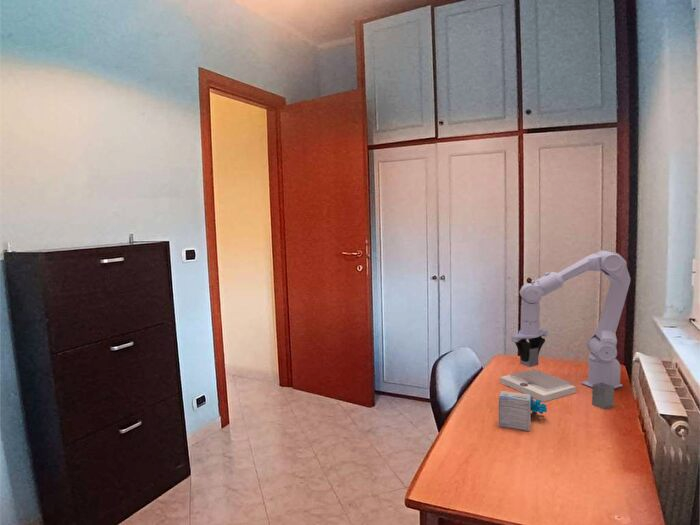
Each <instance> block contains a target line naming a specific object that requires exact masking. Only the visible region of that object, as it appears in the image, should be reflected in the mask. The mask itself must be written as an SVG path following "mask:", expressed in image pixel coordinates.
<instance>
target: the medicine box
mask: <svg viewBox="0 0 700 525" xmlns="http://www.w3.org/2000/svg"><path fill="white" fill-rule="evenodd" d="M531 412H532V411H531V395H529V394H524V393H522V392H513V391H505V390H500V391H499V395H498V427H502V428H508V429H513V430H519V431H526V432H530V429H531V414H532V413H531Z"/></svg>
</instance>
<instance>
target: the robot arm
mask: <svg viewBox="0 0 700 525" xmlns="http://www.w3.org/2000/svg"><path fill="white" fill-rule="evenodd" d="M588 271H590V272H591V271H592V272H593V271H594V272H602V273H604V275H605V276H606V278H607V279H608V280H609V285H608V286H609V287H608V289H607V294H606V296H605V300H604V304H603V307H602V311H601V315H600V318H599V322H598V326H597V327H596V329H595V330H594V331H593V332H592V336H590V338H589V339H588V340H587V344H586V345H587V349H588V350H589V352H590V353H589V355H588V374H587V375H588V376H587V378H588V379H587V380H585V381H582V382H581V383H582V385H585V386H587V387H590V388H593V385H594V384H598V383H601V382H602V383H605V384H608V385H611V386H613V387H614V389H618V388H621V387H623V386H624V385H623V384H622V383H621V364H620V362H619V359H617V356H618V350H617V344H618V338H617V335H616V333H617V329H618V327H619V322H620V319H621V316H622V313H623V309H624V306H625V302H626V299H627V295H628V291H629V287H630V284H631V276H630V272H629V270H628V266H627V261H626V259H625V258H623V256H622V255H620V254H619V253H617V252H611V251H609V250H607V249H606V250H605V249H601V250H598V251H596V252H595V253H591V254H589V255H587V256H585V257H584V258H582V259H580V260H579V261H577V262H575V263H573V264H571V265H569V266H567V267H566V268H565V269H562V270H560V271H559V272H555V271H551V272H549V271H547V272H545V273H544V275H543V276H542V277H539V278H537V279H536V280H535V279H533V280H531V281H530V282H531V283H525V284H523V285H522V286H521V288H520V290H519V295H520V297H521V302H520V304H521V305H520V330H518V332H517V333H516V334H512V335H511V336H510V338H511V339H510V340H511V342H513V343H514V344H515V346H516V348H517V350H518V352H519V358H520V357H521V360H522V361H524V362H527V361H528V353H529V348H530V345H532V346H535V347H538V356H539V355H540V351H541V349H542V347H543V345H544V344H545V342H546V337H548V330H546V329H540V301H541V299H542V297H545V296H547V295H549V294H551V293H553V292H555V291H557V290H559V289H560V288H562V287H563V284H564V283H565V282H566V281H569V280H570V279H572V278H575V277H577V276H580V275H582V274H584V273H585V272H588Z"/></svg>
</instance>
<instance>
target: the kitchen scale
mask: <svg viewBox="0 0 700 525" xmlns="http://www.w3.org/2000/svg"><path fill="white" fill-rule="evenodd" d="M499 383H500V384H502V385H504V386H506V387H508V386H509V387H508V388H510V389H513V390H515V389H516V390H515V391H518V392H519V393H522V394H529V395H531V396H532V397H533V398H534V399H538V400H540V401H541V403H542V402H543V403H544V402H549V401H552V400H556V399H559V398H562V397H567V396H569V395H573V394H576V385H575V386H574V385H573V384H572V382H570V381H568V380H565V379H561V377H560V378H559V377H557V376H554V375H551V374H548V373H546V372H542V371H541V370H537V369H535V368H532V369H528V370H524V371H520V372H515V373H511V374H507V375H503V376H500V377H499Z"/></svg>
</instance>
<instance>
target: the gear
mask: <svg viewBox="0 0 700 525" xmlns="http://www.w3.org/2000/svg"><path fill="white" fill-rule="evenodd" d="M535 399H536V398H535ZM547 411H548V408H547V405H546V404H545V403H542V401H540V400H538V399H536V400H534V399H533V397H532V396H531V412H532V413H533V414H537V413H538V414H541V415H542V414H544V413H547Z"/></svg>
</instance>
